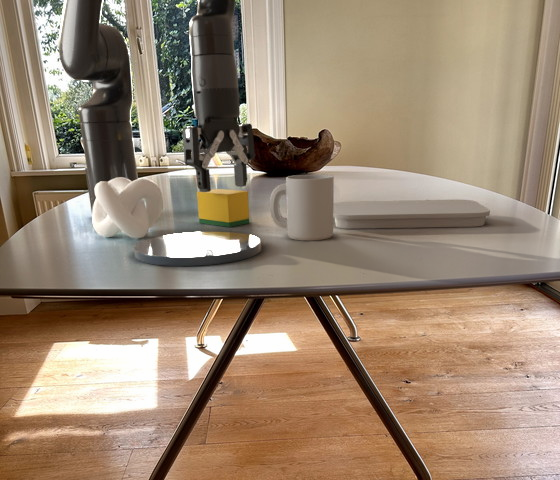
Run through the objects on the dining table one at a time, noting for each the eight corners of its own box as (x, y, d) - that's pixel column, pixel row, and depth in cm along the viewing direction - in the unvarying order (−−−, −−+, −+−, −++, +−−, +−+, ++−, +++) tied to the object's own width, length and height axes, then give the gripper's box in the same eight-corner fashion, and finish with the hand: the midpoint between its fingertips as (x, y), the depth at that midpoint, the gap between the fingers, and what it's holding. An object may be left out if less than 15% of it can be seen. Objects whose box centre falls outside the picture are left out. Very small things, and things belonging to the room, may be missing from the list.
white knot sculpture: (157, 242, 93) (151, 182, 89) (80, 244, 93) (71, 184, 89) (169, 229, 103) (164, 175, 100) (100, 231, 103) (92, 177, 100)
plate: (109, 255, 85) (108, 246, 85) (204, 235, 97) (203, 227, 97) (191, 273, 74) (190, 263, 73) (287, 248, 86) (286, 239, 85)
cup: (330, 241, 90) (330, 179, 86) (265, 240, 92) (263, 179, 88) (335, 232, 96) (336, 174, 93) (275, 231, 98) (273, 175, 94)
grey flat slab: (331, 214, 113) (331, 202, 112) (470, 211, 111) (471, 199, 110) (331, 229, 98) (332, 215, 97) (493, 226, 96) (494, 212, 95)
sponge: (199, 223, 108) (196, 191, 106) (219, 219, 112) (217, 188, 110) (229, 227, 103) (227, 194, 101) (249, 223, 107) (248, 191, 105)
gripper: (231, 89, 106) (237, 184, 112) (167, 88, 96) (178, 192, 103) (261, 85, 101) (266, 185, 107) (197, 85, 92) (206, 194, 98)
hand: (223, 189), depth 105 cm, fingers open, 8 cm apart
